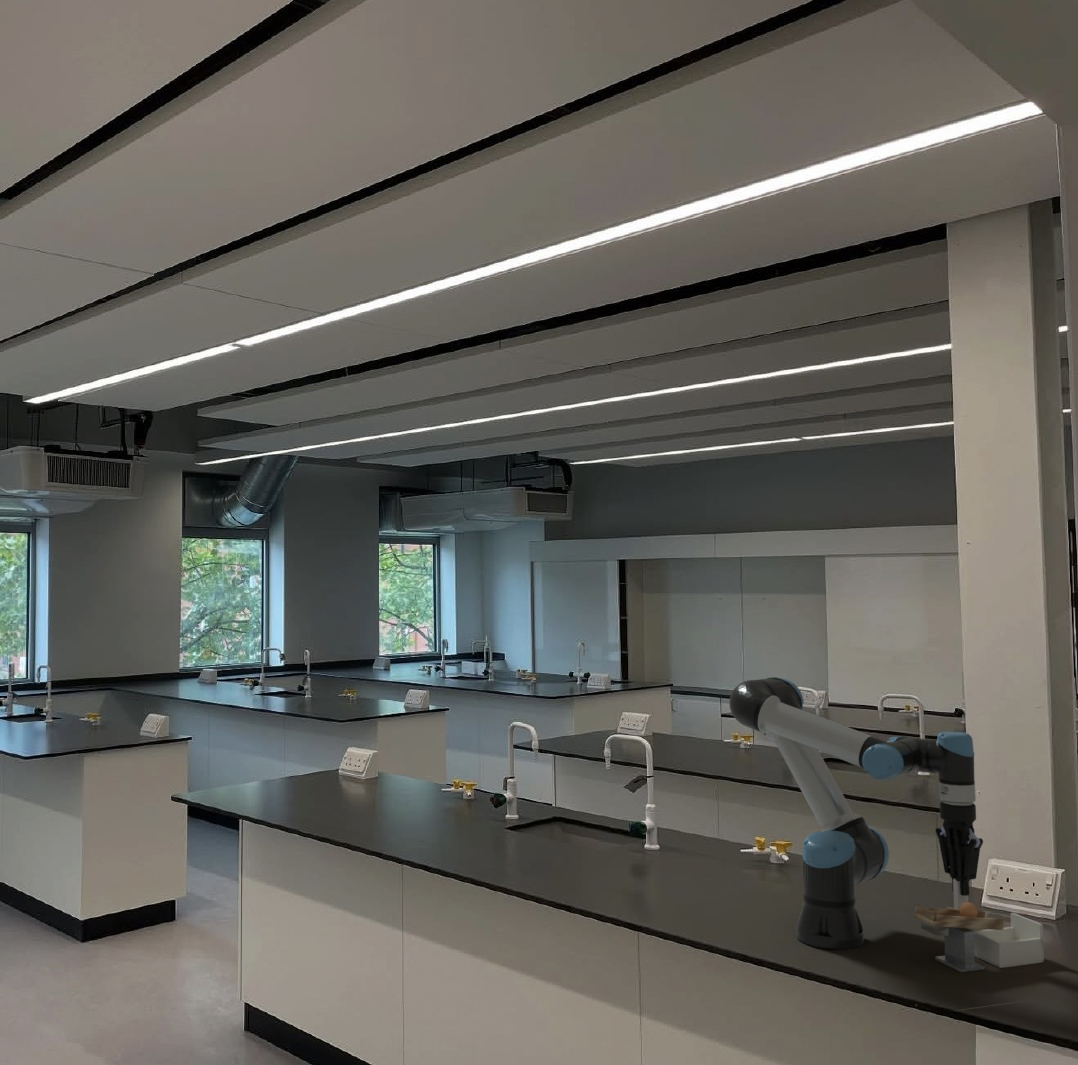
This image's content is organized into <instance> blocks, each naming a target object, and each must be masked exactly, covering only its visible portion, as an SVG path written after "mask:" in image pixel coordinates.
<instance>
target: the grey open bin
mask: <svg viewBox="0 0 1078 1065" xmlns="http://www.w3.org/2000/svg"><path fill="white" fill-rule="evenodd" d="M973 931H974V953H975V957H976V958H978V959H980V960H983V961H984V962H987V963H989V964H990V965H992V966H995V967H997V968H1000V969H1003V968H1010V967H1017V966H1018V967H1019V966H1026V965H1033V964H1034V965H1035V964H1041V963H1045V955H1044V954H1045V953H1044V951H1045V950H1044V924H1043V923H1040V922H1039V921H1035V920H1033V919H1031V918H1028V917H1026V916H1025V917H1024V916H1022V915H1019V914H1017V913H1015V912H1010V926H1007V927H1003V930H992V929H978V930H973Z"/></svg>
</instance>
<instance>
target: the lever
mask: <svg viewBox="0 0 1078 1065" xmlns="http://www.w3.org/2000/svg"><path fill="white" fill-rule="evenodd" d="M914 908H915V909H914V916H913V917H914V918H915V919H917V920H918V921H920V929H922V930H923V931H926V932H928V933H930V934H932V935H935V936H940V937H942V936H943V937H944V936H948V933H949V927H958V928H968V929H977V930H987V929H992V930H1003V928H1004V920H1005V919H1004V918H993V917H992V918H991V917H986V911H982V910H977V916H976V917H963V916H961V914H960V912H959V910H956V909H954V906H953V907H951V906H945V907H944V908H935V907H934V908H933V907H925V906H923V905H921V904H919V903H918V904H917V903H915V907H914Z"/></svg>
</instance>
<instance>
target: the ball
mask: <svg viewBox="0 0 1078 1065" xmlns="http://www.w3.org/2000/svg"><path fill="white" fill-rule="evenodd" d="M977 911H978V909H977V907H976V905H975V904H973V903H972V902H969V901H968V902H965V903H963V904H961V906H960V908H959V912H960V914H961V916H963V917H976V916H977Z"/></svg>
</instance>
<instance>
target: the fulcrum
mask: <svg viewBox="0 0 1078 1065" xmlns="http://www.w3.org/2000/svg"><path fill="white" fill-rule="evenodd" d="M974 931H975V930H972V929H971V928H958V927H949V933H948V936H943V937H944V955H938V956H935V961H938V962H940V963H942V964H944V965H945V966H948V967H950V968H952V969H954V970H955V971H958V972H960V973H965V972H975V971H981V970H982V971H983V970H985V965H982V964H980V963H978V962H976V961H975V959H976V958H975V957H976V956H975V953H974Z"/></svg>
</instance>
